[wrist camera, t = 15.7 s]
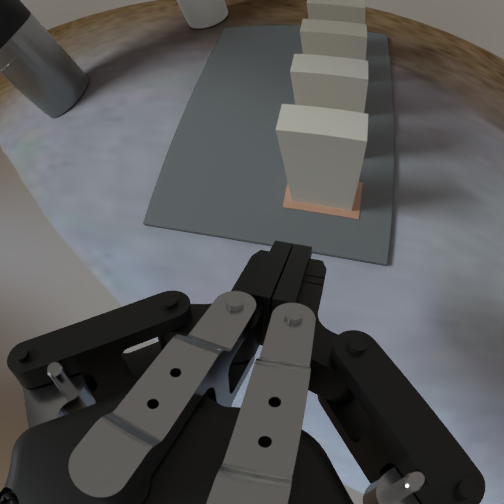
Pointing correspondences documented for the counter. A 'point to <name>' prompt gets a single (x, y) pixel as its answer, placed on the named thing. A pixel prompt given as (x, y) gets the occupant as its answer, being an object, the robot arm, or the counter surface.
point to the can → (203, 12)
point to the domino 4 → (322, 153)
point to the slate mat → (270, 154)
